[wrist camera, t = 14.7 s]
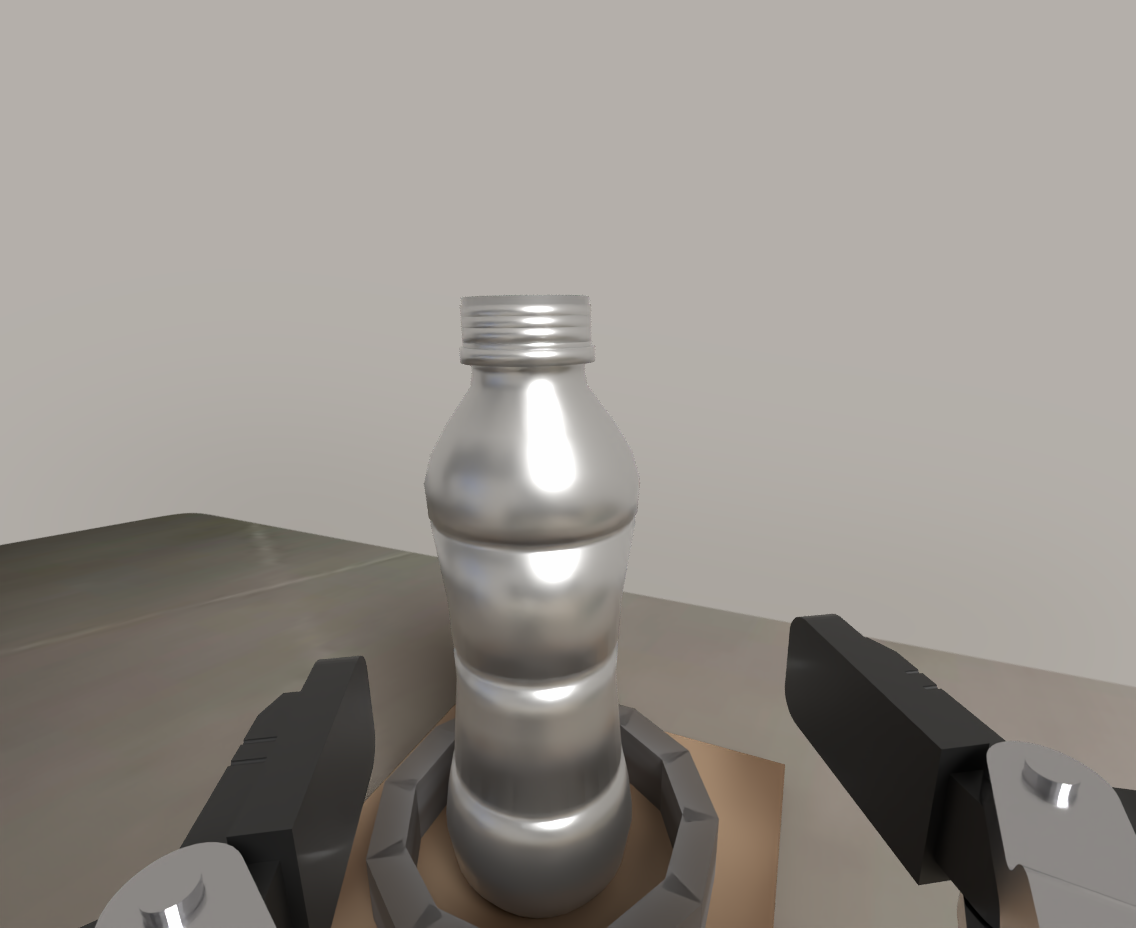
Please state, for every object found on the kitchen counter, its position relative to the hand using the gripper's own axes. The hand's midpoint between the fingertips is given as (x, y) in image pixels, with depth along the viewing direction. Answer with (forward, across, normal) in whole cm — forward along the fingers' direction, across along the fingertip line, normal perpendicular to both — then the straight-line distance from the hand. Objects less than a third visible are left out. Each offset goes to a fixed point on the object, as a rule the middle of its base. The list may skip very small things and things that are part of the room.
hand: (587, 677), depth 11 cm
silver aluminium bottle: (+8, +1, +13) cm, 15 cm away
